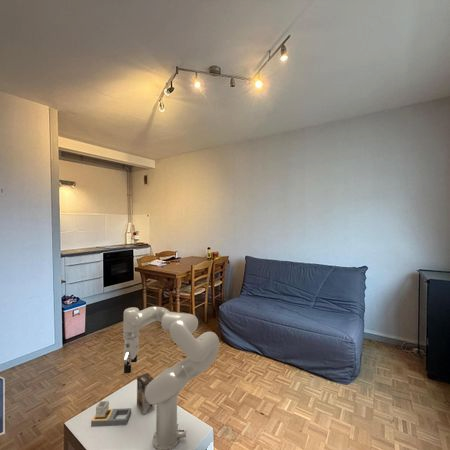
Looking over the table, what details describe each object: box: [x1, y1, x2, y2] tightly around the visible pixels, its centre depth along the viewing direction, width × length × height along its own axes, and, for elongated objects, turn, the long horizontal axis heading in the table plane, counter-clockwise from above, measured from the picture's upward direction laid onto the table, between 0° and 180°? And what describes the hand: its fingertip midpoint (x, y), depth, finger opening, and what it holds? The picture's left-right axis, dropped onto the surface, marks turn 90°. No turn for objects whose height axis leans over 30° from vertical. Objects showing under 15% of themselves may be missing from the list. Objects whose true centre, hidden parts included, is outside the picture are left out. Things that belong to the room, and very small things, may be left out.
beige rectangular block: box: [95, 400, 110, 419], centre depth 125 cm, size 4×4×8 cm
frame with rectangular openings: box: [90, 407, 132, 427], centre depth 125 cm, size 17×8×3 cm, turn 94°
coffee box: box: [136, 372, 155, 416], centre depth 134 cm, size 9×6×16 cm
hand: (130, 367), depth 123 cm, fingers open, 9 cm apart
